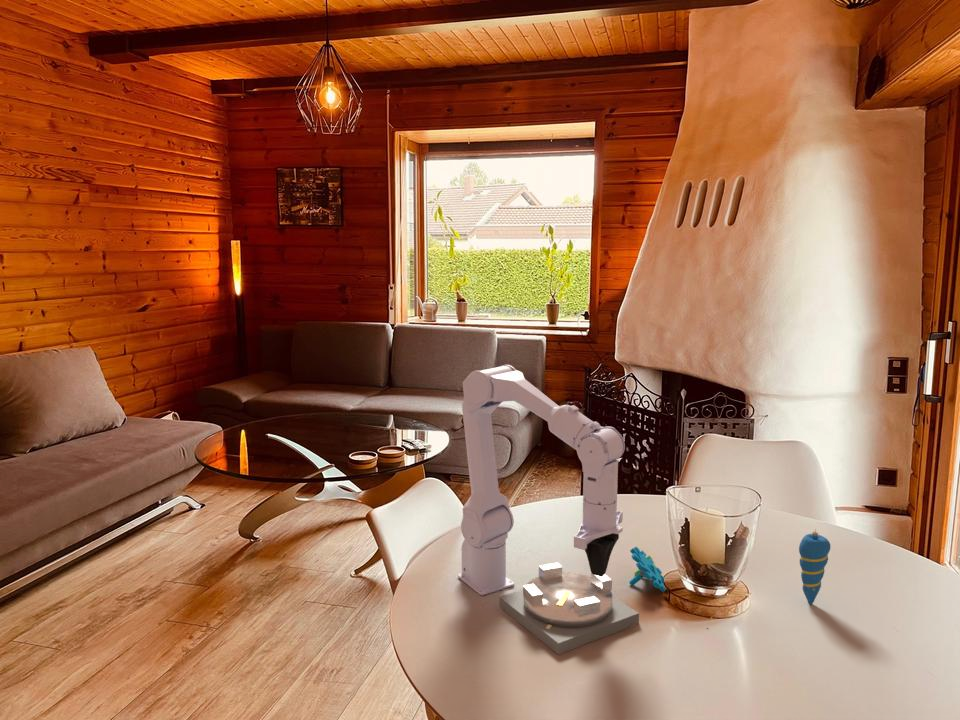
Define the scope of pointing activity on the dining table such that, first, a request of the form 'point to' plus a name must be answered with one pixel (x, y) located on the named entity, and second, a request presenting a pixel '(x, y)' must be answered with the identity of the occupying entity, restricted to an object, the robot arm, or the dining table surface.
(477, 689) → the dining table surface
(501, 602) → the base plate
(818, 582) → the ornament
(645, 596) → the dining table surface
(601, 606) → the lugged metal disc
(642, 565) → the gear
